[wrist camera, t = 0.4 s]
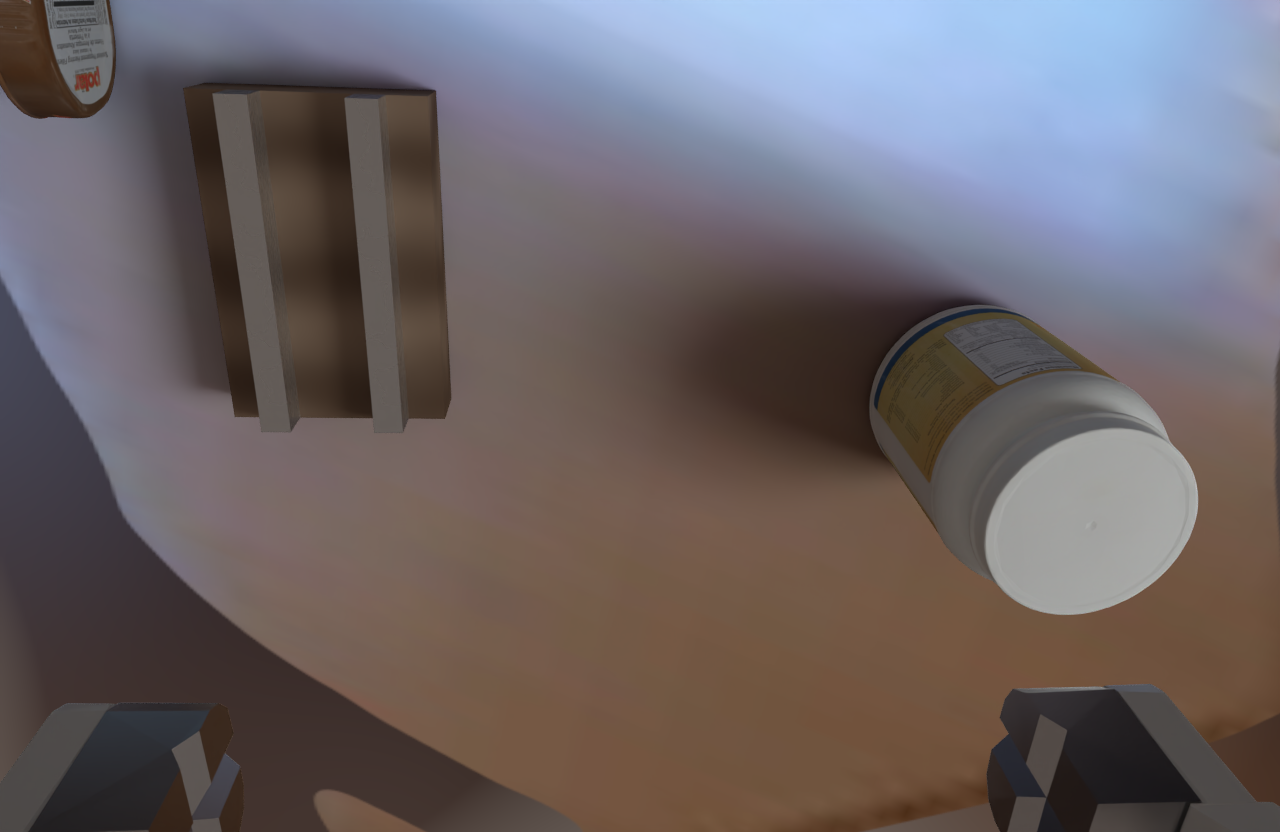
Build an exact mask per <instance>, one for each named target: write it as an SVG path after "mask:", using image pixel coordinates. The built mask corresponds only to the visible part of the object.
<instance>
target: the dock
mask: <svg viewBox="0 0 1280 832" xmlns="http://www.w3.org/2000/svg"><path fill="white" fill-rule="evenodd" d="M183 90H184V96H185V103H186V109H187V116H188V122H189V128H190V135H191V141H192V147H193V154H194V160H195V167H196V173H197V179H198V186H199V192H200V198H201V205H202V211H203V217H204V224H205V230H206V237H207V243H208V249H209V256H210V262H211V268H212V275H213V281H214V287H215V294H216V300H217V307H218V313H219V319H220V326H221V332H222V338H223V345H224V351H225V358H226V364H227V370H228V377H229V383H230V389H231V396H232V402H233V408H234V415H235V417H259V418H260V425H261V432H291V431H292V430H293V428H294V427H295V425H296V423H297V422H298V420H299V419H300V417H306V418H373V425H374V433H403V432H404V429H405V427H406V424H407V422H408V419H409V418H424V419H445V417H446V414H447V411H448V407H449V404H450V401H451V384H450V364H449V344H448V324H447V304H446V283H445V263H444V243H443V223H442V203H441V183H440V163H439V143H438V123H437V103H436V91H431V90H402V89H373V88H344V87H315V86H286V85H257V84H228V83H202V84H198V85H194V86H189V87H185V88H183Z"/></svg>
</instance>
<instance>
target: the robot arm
mask: <svg viewBox="0 0 1280 832" xmlns="http://www.w3.org/2000/svg"><path fill="white" fill-rule="evenodd" d="M1000 719H1001V721H1002V722H1003V724H1004V726H1005V728H1006V729H1007V731H1008V733H1009V734H1008V735H1007V736H1006V737H1005V738H1004V739H1003V740H1002V741H1000V742H999V743H998V744H997V745H996V746H995V747H994V748H993V749H992V750H991V755H990V760H989V764H988V769H987V786H988V799H989V803H990V806H991V810H992V813H993V817H994V820H995V822H996V824H997V827H998V829H999V831H1000V832H1280V807H1279V806H1278V805H1276V804H1274V803H1272V802H1256V801H1255V799H1254V798H1253V797H1252V796H1251V795H1250V793H1249V792H1248V791H1247V790H1246V789H1245V788H1244V786H1243V785H1242V784H1241V783H1240V782H1239V780H1237V778H1236V777H1235V776H1234V774H1233V773H1232V772H1231V771H1230V770H1229V769H1228V767H1227V766H1226V765H1225V764H1224V763H1223V761H1222V760H1221V759H1220V758H1219V757H1218V756H1217V754H1216V753H1215V752H1214V751H1213V749H1212V748H1211V747H1210V746H1209V745H1208V744H1207V742H1206V741H1205V740H1204V739H1203V738H1202V736H1201V735H1200V734H1199V733H1198V732H1197V730H1196V729H1195V728H1194V727H1193V726H1192V725H1191V723H1190V722H1189V721H1188V720H1187V719H1186V717H1185V716H1184V715H1183V714H1182V713H1181V711H1180V710H1179V709H1178V708H1177V707H1176V706H1175V704H1174V703H1173V702H1172V701H1171V700H1170V698H1169V697H1168V696H1167V695H1166V694H1165V693H1164V692H1163V691H1162V690H1160V689H1158V688H1157V687H1155V686H1153V685H1151V684H1141V685H1113V686H1104V687H1066V688H1028V689H1012V691H1011V692H1010V693H1009V695H1008V696H1007V697H1006V698H1005V701H1004V704H1003V708H1002V711H1001V715H1000ZM232 736H233V729H232V725H231V721H230V716H229V713H228V708H226V707H225V706H223V705H221V704H219V703H118V704H68V703H67V704H65V705H63V706H62V707H60V708H58V709H57V710H55V711H53V712H52V713H51V714H50V715H49V717H48V718H47V720H46V721H45V722H44V724H43V725H42V726H41V728H40V729H39V730H38V732H37V733H36V735H35V736H34V737H33V739H32V740H31V741H30V743H29V744H28V746H27V747H26V748H25V750H24V751H23V752H22V754H21V755H20V757H19V758H18V759H17V761H16V762H15V764H14V765H13V766H12V768H11V769H10V770H9V772H8V773H7V775H6V776H5V777H4V779H3V780H2V781H1V783H0V832H240V827H241V821H242V816H243V810H244V785H243V779H242V774H241V768H240V766H239V765H238V764H237V763H235V762H234V761H233V760H232V759H231V758H230V757H228V756H227V755H226V754H225V751H226V749H227V747H228V744H229V742H230V740H231V738H232Z"/></svg>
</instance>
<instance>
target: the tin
mask: <svg viewBox="0 0 1280 832" xmlns="http://www.w3.org/2000/svg"><path fill="white" fill-rule="evenodd" d="M115 66H116V48H115V37H114V29H113V22H112V15H111V8H110V1H109V0H0V85H1V87H2V89H3V90H4V92H5V93H6V95H7V97H8V98H9V99H10V100H11V102H12V103H13V104H14V105H15V106H16V107H17V108H18V109H19V110H20V111H21V112H23V113H24V114H26V115H28V116H30V117H33V118H38V119H42V118H48V117H62V118H87V117H90V116H92V115H94V114H95V113H97V112H98V111H99V110H100V109H102V108H103V107H104V106H105V104H106V103H107V102H108V100H109V98H110V95H111V92H112V88H113V84H114V77H115Z"/></svg>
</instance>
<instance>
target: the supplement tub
mask: <svg viewBox="0 0 1280 832" xmlns="http://www.w3.org/2000/svg"><path fill="white" fill-rule="evenodd" d="M869 414H870V422H871V426H872V430H873V433H874V435H875V438H876V441H877V443H878V445H879V447H880V449H881V450H882V452H883V453H884V455H885V456H886V457H887V458H888V459H889V461H890V462H891V464H892V465H893V467H894V468H895V470H896V471H897V473H898V474H899V476H900V477H901V479H902V480H903V482H904V483H905V485H906V486H907V488H908V489H909V491H910V492H911V494H912V495H913V497H914V498H915V499H916V501H917V502H918V504H919V505H920V507H921V508H922V510H923V511H924V513H925V514H926V516H927V517H928V519H929V520H930V522H931V523H932V525H933V526H934V528H935V529H936V531H937V532H938V534H939V535H940V537H941V539H942V541H943V542H944V544H945V545H946V547H947V548H948V549H949V550H950V551H951V553H952V554H954V555H955V556H956V557H957V558H958V559H959V560H960V561H961V562H962V563H963V564H964V565H966V566H967V567H968V568H970V569H971V570H972V571H974V572H976V573H977V574H979V575H981V576H983V577H985V578H987V579H990V580H992V581H993V582H995V583H996V584H997V585H998V586H999V587H1000V588H1001V589H1002V591H1003V592H1005V593H1006V594H1007V595H1008V596H1009V597H1011V598H1012V599H1013V600H1015V601H1017V602H1018V603H1020V604H1022V605H1024V606H1026V607H1028V608H1031V609H1033V610H1037V611H1040V612H1044V613H1051V614H1061V615H1072V614H1083V613H1088V612H1093V611H1097V610H1101V609H1104V608H1107V607H1111V606H1113V605H1116V604H1118V603H1120V602H1122V601H1125V600H1127V599H1129V598H1131V597H1132V596H1134V595H1136V594H1138V593H1139V592H1141V591H1142V590H1144V589H1145V588H1147V587H1148V586H1149V585H1151V584H1152V583H1153V582H1154V581H1156V580H1157V579H1158V578H1159V577H1160V576H1161V575H1162V574H1163V573H1164V572H1165V571H1166V570H1167V569H1168V568H1169V567H1170V566H1171V565H1172V563H1173V562H1174V561H1175V560H1176V559H1177V557H1178V556H1179V554H1180V553H1181V551H1182V550H1183V548H1184V546H1185V545H1186V543H1187V541H1188V539H1189V537H1190V535H1191V532H1192V529H1193V526H1194V523H1195V520H1196V515H1197V509H1198V491H1197V484H1196V480H1195V477H1194V474H1193V472H1192V469H1191V467H1190V465H1189V464H1188V462H1187V461H1186V459H1185V458H1184V457H1183V455H1182V454H1181V453H1180V452H1179V451H1178V450H1177V449H1176V448H1175V447H1174V446H1173V445H1172V443H1171V442H1170V441H1169V438H1168V435H1167V433H1166V430H1165V428H1164V426H1163V424H1162V422H1161V421H1160V419H1159V417H1158V416H1157V414H1156V413H1155V412H1154V410H1153V409H1152V408H1151V407H1150V406H1149V405H1148V404H1147V403H1146V401H1145V400H1144V399H1143V398H1142V397H1141V396H1140V395H1139V394H1137V393H1136V392H1135V391H1134V390H1132V389H1131V388H1129V387H1128V386H1126V385H1124V384H1122V383H1121V382H1119V381H1118V380H1116V379H1115V378H1114V377H1112V376H1111V375H1109V374H1108V373H1107V372H1105V371H1104V370H1102V369H1101V368H1099V367H1098V366H1097V365H1095V364H1094V363H1092V362H1091V361H1090V360H1088V359H1087V358H1085V357H1084V356H1082V355H1081V354H1080V353H1078V352H1077V351H1075V350H1074V349H1073V348H1071V347H1070V346H1068V345H1067V344H1065V343H1064V342H1063V341H1061V340H1060V339H1058V338H1057V337H1055V336H1054V335H1052V334H1051V333H1049V332H1048V331H1047V330H1045V329H1044V328H1042V327H1041V326H1040V325H1039V324H1038V323H1036V322H1035V321H1033V320H1032V319H1031V318H1029V317H1027V316H1026V315H1024V314H1021V313H1019V312H1017V311H1014V310H1011V309H1007V308H1003V307H998V306H991V305H968V306H962V307H956V308H952V309H948V310H944V311H942V312H939V313H937V314H935V315H933V316H931V317H929V318H927V319H925V320H923V321H922V322H920V323H918V324H917V325H915V326H914V327H913V328H911V329H910V330H909V331H908V332H906V333H905V334H904V335H903V336H902V337H901V338H900V339H899V340H898V341H897V342H896V343H895V344H894V346H893V347H892V348H891V349H890V351H889V352H888V353H887V355H886V356H885V358H884V359H883V361H882V363H881V365H880V367H879V369H878V371H877V373H876V376H875V378H874V381H873V385H872V389H871V394H870V404H869Z"/></svg>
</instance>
